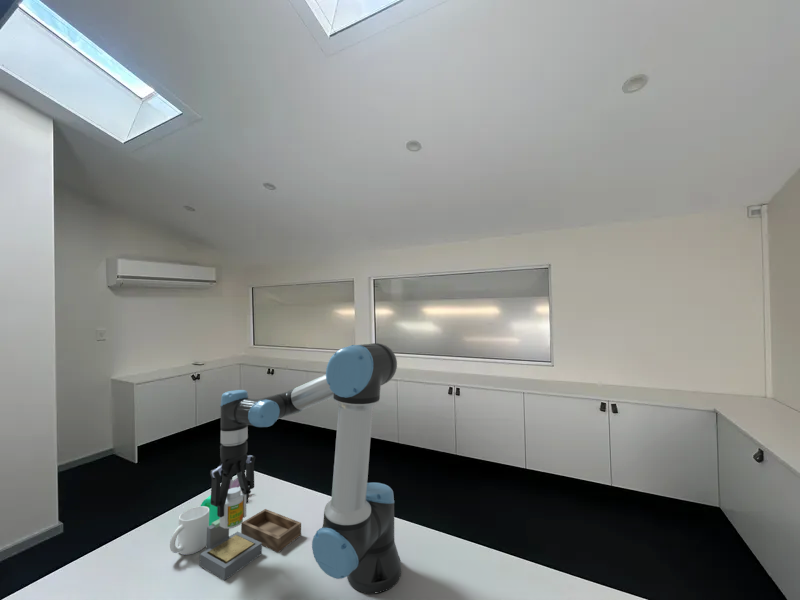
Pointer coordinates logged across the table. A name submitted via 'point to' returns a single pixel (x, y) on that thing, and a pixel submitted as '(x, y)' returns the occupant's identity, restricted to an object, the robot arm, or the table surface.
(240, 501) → the supplement bottle
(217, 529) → the grey stepped block
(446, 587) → the table surface
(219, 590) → the table surface
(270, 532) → the trough
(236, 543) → the contact pad
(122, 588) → the table surface
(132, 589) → the table surface
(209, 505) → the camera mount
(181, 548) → the mug
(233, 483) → the lily
